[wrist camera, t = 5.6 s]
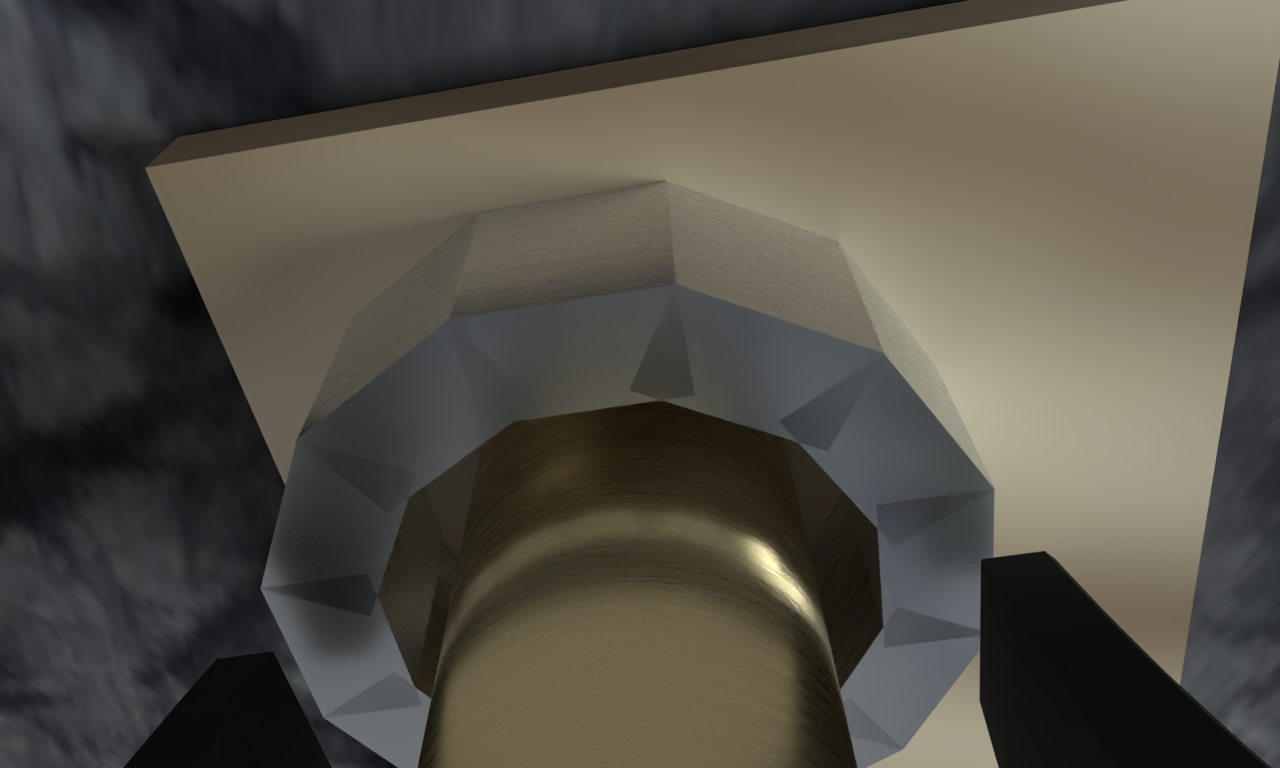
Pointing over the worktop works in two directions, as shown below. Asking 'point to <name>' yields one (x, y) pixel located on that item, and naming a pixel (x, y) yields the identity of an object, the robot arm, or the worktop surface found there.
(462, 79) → the worktop surface
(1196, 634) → the worktop surface
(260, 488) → the worktop surface
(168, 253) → the worktop surface
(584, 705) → the brass sleeve
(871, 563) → the bore collar
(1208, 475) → the jig plate
